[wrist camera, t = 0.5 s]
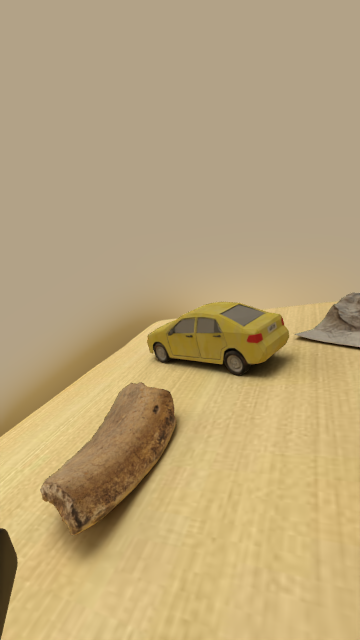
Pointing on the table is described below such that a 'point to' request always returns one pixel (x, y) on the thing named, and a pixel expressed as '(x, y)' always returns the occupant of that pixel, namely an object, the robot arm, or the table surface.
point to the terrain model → (339, 323)
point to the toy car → (221, 336)
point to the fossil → (113, 457)
